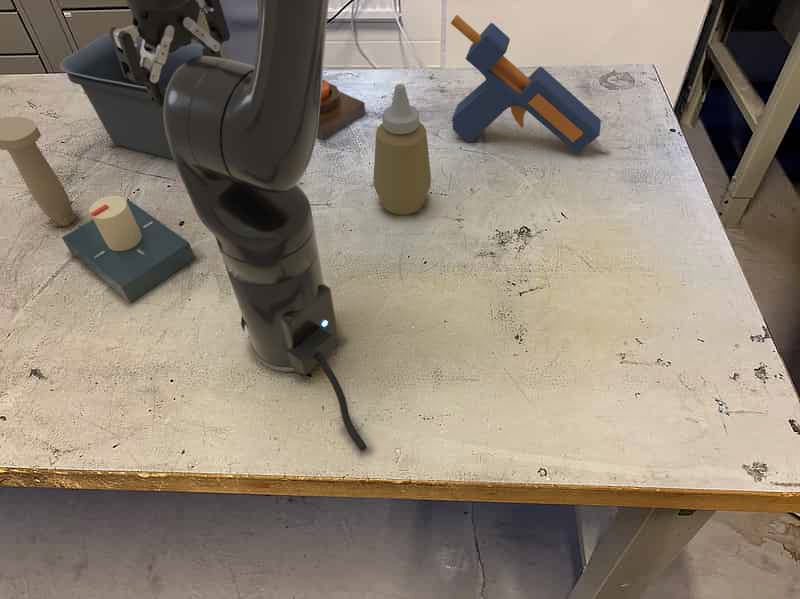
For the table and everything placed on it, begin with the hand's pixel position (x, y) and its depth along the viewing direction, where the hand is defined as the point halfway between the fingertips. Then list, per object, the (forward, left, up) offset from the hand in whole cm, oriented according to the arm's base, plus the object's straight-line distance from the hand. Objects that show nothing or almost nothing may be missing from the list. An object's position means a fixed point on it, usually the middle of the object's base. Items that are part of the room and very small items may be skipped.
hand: (191, 91), depth 77 cm
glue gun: (-29, -38, -16) cm, 50 cm away
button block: (+2, -23, -16) cm, 28 cm away
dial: (-3, +17, -12) cm, 21 cm away
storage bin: (+16, -3, -16) cm, 23 cm away
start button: (+2, -23, -12) cm, 26 cm away
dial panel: (-3, +17, -16) cm, 23 cm away
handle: (+11, +19, -16) cm, 27 cm away
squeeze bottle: (-24, -14, -16) cm, 32 cm away
